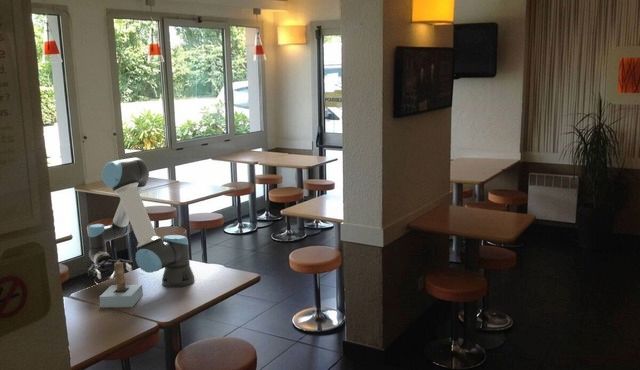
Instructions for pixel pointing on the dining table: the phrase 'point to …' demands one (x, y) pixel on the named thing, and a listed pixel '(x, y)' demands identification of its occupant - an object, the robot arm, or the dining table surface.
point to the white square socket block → (121, 296)
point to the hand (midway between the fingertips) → (115, 272)
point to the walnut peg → (120, 277)
